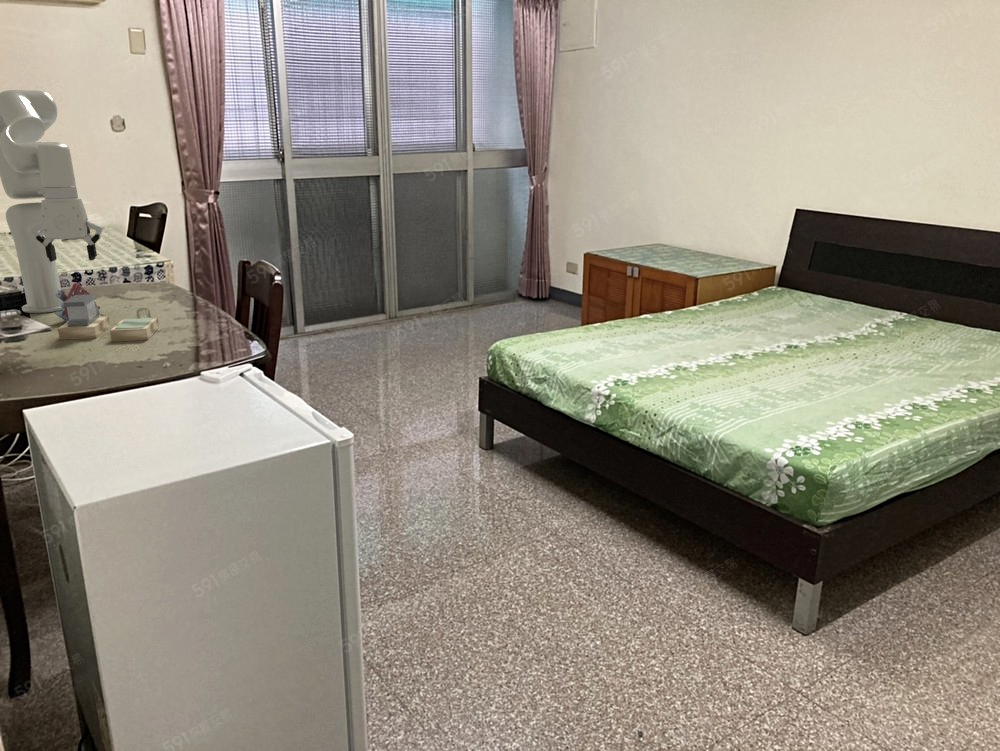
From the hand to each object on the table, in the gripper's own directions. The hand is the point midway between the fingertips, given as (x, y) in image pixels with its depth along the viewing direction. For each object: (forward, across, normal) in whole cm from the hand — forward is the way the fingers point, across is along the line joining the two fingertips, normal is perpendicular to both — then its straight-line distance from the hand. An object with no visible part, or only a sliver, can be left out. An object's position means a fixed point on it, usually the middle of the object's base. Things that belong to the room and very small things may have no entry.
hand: (72, 260), depth 201 cm
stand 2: (+20, +14, -4) cm, 25 cm away
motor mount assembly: (+20, -6, +15) cm, 26 cm away
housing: (+17, 0, 0) cm, 17 cm away
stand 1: (+20, 0, 0) cm, 20 cm away
